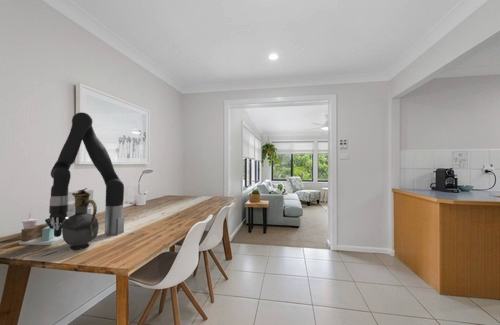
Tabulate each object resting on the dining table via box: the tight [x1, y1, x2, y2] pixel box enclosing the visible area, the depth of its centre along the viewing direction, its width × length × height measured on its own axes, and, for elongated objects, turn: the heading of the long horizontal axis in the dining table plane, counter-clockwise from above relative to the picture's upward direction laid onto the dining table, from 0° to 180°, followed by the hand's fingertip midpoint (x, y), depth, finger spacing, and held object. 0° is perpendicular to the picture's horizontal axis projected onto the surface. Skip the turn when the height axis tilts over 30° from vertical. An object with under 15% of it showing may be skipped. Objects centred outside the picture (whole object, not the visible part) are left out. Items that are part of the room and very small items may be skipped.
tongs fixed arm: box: [20, 222, 48, 242], centre depth 118 cm, size 15×3×6 cm, turn 179°
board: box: [19, 234, 65, 246], centre depth 120 cm, size 17×20×1 cm
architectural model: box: [67, 189, 94, 218], centre depth 147 cm, size 28×21×23 cm
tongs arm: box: [42, 223, 56, 241], centre depth 120 cm, size 17×4×7 cm, turn 21°
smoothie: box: [21, 211, 39, 229], centre depth 122 cm, size 6×6×14 cm
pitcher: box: [62, 187, 99, 251], centre depth 107 cm, size 11×19×30 cm, turn 67°
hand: (57, 236), depth 114 cm, fingers closed
